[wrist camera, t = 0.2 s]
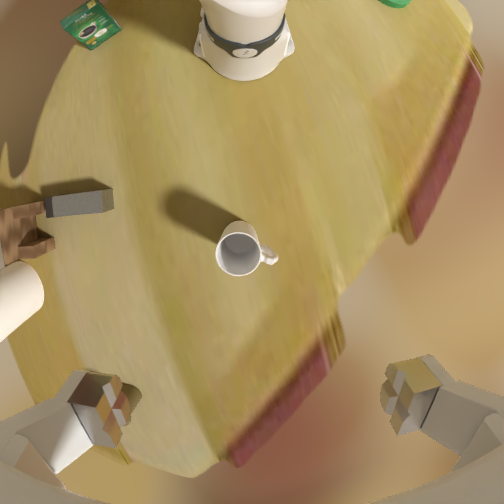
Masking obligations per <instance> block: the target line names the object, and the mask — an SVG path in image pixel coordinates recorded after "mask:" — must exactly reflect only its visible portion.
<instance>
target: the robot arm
mask: <svg viewBox="0 0 504 504" xmlns="http://www.w3.org/2000/svg"><path fill="white" fill-rule="evenodd" d="M199 1H200V3H201V5H202V8H201V12H200V16H201V17H202V21H201V22H200V23H199V31H198V35H197V39H196V42H195V46H194V54H195V55H196V56H198V57H200V58H202V59H204V60H206V61H207V62H208V63H209V64H210V65H211V67H212V68H213V69H214V70H215V71H216V72H218V73H219V74H221V75H222V76H224V77H227V78H229V79H233V80H239V81H248V80H255V79H258V78H261V77H263V76H265V75H267V74H269V73H270V72H272V71H273V70H274V69H275V68H276V67H277V65H278V64H279V63H280V61H281V60H282V59H284V58H286V57H288V56H290V55H291V54H292V53H293V52H294V50H295V47H294V43H293V40H292V37H291V34H290V30H289V27H288V24H287V21H286V18H285V8H286V5H287V1H288V0H199ZM288 43H289V44H288ZM200 44H201V46H199V45H200ZM385 375H386V376H387V378H388V379H387V380H386V381H385V382H384V383H383V385H382V388H381V392H380V401H381V405H382V407H383V409H384V411H385V412H386V413H388V414H390V415H391V419H390V422H391V425H392V427H393V429H394V430H395V432H396V434H397V435H402V434H406V433H409V432H413V431H416V430H420V429H421V430H420V431H422V432H423V433H425V434H426V435H428V436H429V437H431V438H433V439H434V440H436V441H437V442H439V443H440V444H442V445H443V446H445V447H446V448H448V449H450V450H451V451H453V452H454V453H456V454H458V455H460V457H459V459H458V460H457V462H456V463H455V464H454V466H453V468H452V471H453V472H451V473H449V474H447V475H444V476H442V477H440V478H438V479H435V480H433V481H431V482H428V483H426V484H423V485H420V486H418V487H415V488H413V489H410V490H408V491H404V492H401V493H398V494H395V495H392V496H389V497H386V498H382V499H379V500H376V501H372V502H368V503H364V504H504V397H503V396H500V395H497V394H494V393H492V392H489V391H486V390H483V389H481V388H478V387H475V386H473V385H470V384H467V383H465V382H462V381H455V380H454V379H453V378H452V377H451V376H450V374H449V373H448V372H447V371H446V370H445V369H444V368H443V366H442V365H441V364H440V363H439V362H438V361H437V360H436V359H435V358H434V357H433V356H432V355H425V356H421V357H417V358H414V359H409V360H405V361H400V362H395V363H391V364H389V365H388V367H387V369H386V372H385ZM122 386H123V384H122V382H121V379H120V377H118V376H117V375H112V374H105V373H98V372H92V371H84V370H78V369H77V370H74V371H73V372H72V374H71V375H70V376H69V378H68V379H67V381H66V382H65V383H64V385H63V386H62V387H61V389H60V390H59V392H58V393H57V394H56V396H55V397H54V399H50V398H49V399H47V400H45V401H43V402H41V403H39V404H37V405H35V406H33V407H31V408H29V409H26V410H24V411H22V412H20V413H18V414H16V415H14V416H12V417H9V418H7V419H5V420H3V421H1V422H0V504H110V503H106V502H102V501H98V500H95V499H92V498H88V497H85V496H82V495H79V494H76V493H73V492H70V491H67V490H65V489H66V487H65V485H64V483H63V482H62V481H61V480H60V479H59V478H58V477H57V475H56V474H57V473H59V472H60V471H61V470H63V469H64V468H65V467H66V466H68V465H69V464H70V463H72V462H73V461H74V460H75V459H77V458H78V457H79V456H80V455H82V454H83V453H84V452H85V451H87V450H88V449H89V448H90V447H92V446H93V444H95V445H101V446H106V447H112V448H117V446H118V444H119V441H120V439H121V436H122V434H123V433H122V431H121V428H120V427H122V426H123V425H125V424H126V423H127V421H128V418H129V411H130V407H129V401H128V398H127V396H126V395H125V394H124V393H123V392H122V391H121V388H122Z"/></svg>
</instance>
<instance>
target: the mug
mask: <svg viewBox="0 0 504 504" xmlns="http://www.w3.org/2000/svg"><path fill="white" fill-rule="evenodd" d="M261 252H264V253H266V254H268V255H270V256H268V255H265V254H263V253H261ZM215 256H216V261H217V263H218V265H219V266H220V268H221V269H222V270H223V271H225V272H226V273H228V274H230V275H233V276H244V275H247V274H249V273H251V272H253V271H254V270H255V269H256V268H257V267H258V265H259V263H260V261H262V262H265V263H267V264H270V265H273V263H275V262H276V261H277V260H278V255H277V254H276V253H275V252H274V251H273V250H272V249H271V248H270V247H269V246H267V245H264V244H261V243H259V241H258V238H257V235H256V232H255V230H254V228H253V227H252V226H251V225H250V224H249V223H247V222H245V221H234V222H232V223H230V224H229V225H228V226H227V227H226V228H225V230H224V231H223V233H222V236H221V238H220V240H219V242H218V244H217V247H216V251H215Z"/></svg>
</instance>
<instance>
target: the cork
mask: <svg viewBox="0 0 504 504" xmlns="http://www.w3.org/2000/svg"><path fill="white" fill-rule="evenodd" d="M121 391H122V392H123V393H124V394H125V395H126V396H127V398H128V401H129V407H130V411H129V418H128V421H127V423H126V424H125V425H123V426H126V425H128V424H129V423H130V421H131V413H132V412H133V410H134V409H135V407H136V406H137V404H138V402H139V401H140V399H141V398H142V394H141V392H140V390H139V389H138V388H136V387H135V386H133V385H130V384H124V385H123V386H122V388H121Z"/></svg>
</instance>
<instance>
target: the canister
mask: <svg viewBox="0 0 504 504" xmlns="http://www.w3.org/2000/svg"><path fill="white" fill-rule="evenodd" d="M43 301H44V291H43V286H42V283H41V280H40V278H39V276H38V275H37V273H36V272H35V270H34V269H33V268H32V267H31V266H30V265H29V264H27V263H25V262H22V261H17V262H14V263H12V264H10V265H9V266H7V267H5V268H3V269H1V270H0V342H1V341H2V340H3V339H4V338H6V337H7V336H8V335H9V334H10V333H11V332H13V331H14V330H15V329H16V328H17V327H18V326H20V325H21V324H22V323H23V322H24V321H26V320H27V319H28V318H29V317H31V316H32V315H33V314H34V313H35V312H37V311H38V310H39V309H40V308H41V307H42V305H43Z"/></svg>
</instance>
